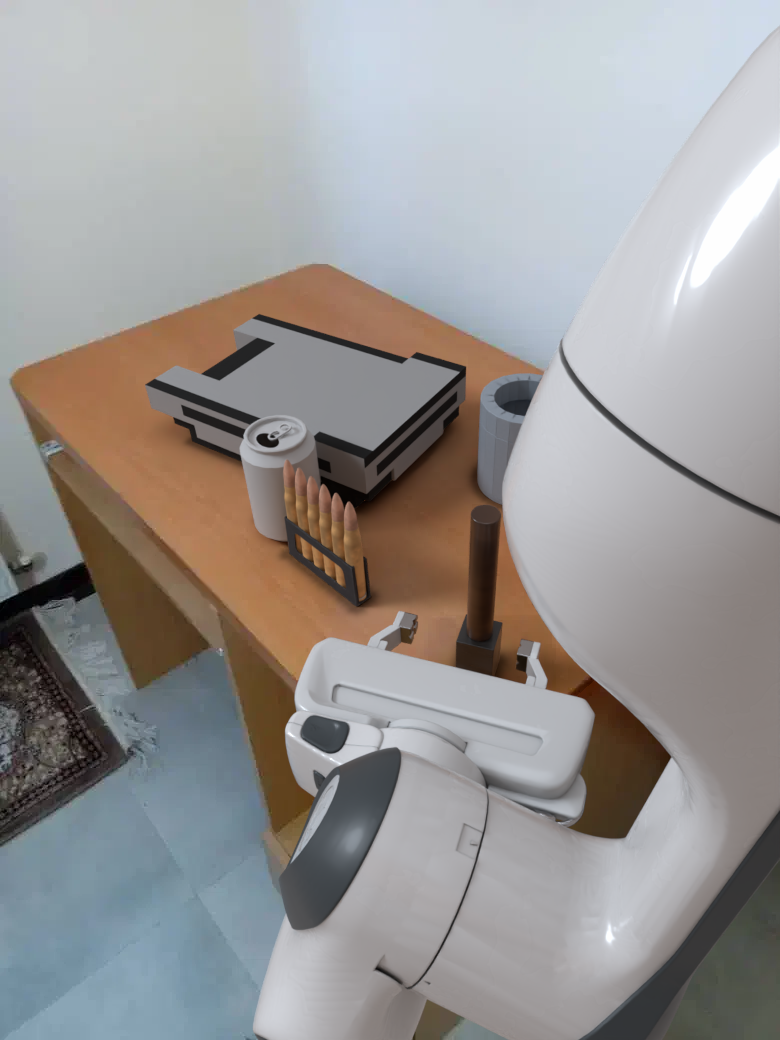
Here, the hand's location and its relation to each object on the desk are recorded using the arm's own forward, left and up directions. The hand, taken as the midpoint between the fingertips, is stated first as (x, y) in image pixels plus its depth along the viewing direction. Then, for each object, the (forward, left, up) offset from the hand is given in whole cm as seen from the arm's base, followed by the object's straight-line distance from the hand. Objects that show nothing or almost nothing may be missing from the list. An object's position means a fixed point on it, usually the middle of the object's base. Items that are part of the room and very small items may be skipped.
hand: (468, 631), depth 60 cm
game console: (+29, -34, -10) cm, 46 cm away
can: (+24, -17, -10) cm, 31 cm away
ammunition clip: (+17, -11, -10) cm, 23 cm away
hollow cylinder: (+2, -31, -10) cm, 33 cm away
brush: (0, -4, -10) cm, 11 cm away
